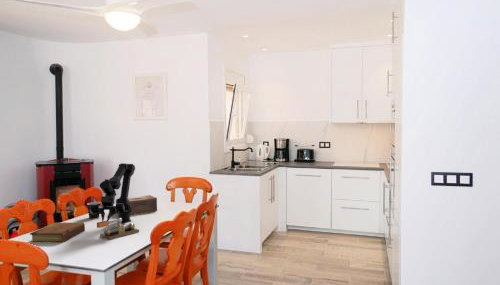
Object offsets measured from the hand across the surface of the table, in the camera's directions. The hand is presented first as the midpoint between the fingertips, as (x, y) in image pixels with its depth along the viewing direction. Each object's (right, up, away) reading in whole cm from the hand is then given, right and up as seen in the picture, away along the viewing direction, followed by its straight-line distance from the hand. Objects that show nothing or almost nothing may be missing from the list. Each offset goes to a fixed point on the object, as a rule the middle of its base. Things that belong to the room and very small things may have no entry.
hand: (105, 220), depth 214 cm
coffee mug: (-24, -7, +45) cm, 51 cm away
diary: (-27, -10, 0) cm, 28 cm away
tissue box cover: (-1, -7, +62) cm, 62 cm away
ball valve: (+8, -8, +3) cm, 12 cm away
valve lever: (+4, -2, -3) cm, 5 cm away
